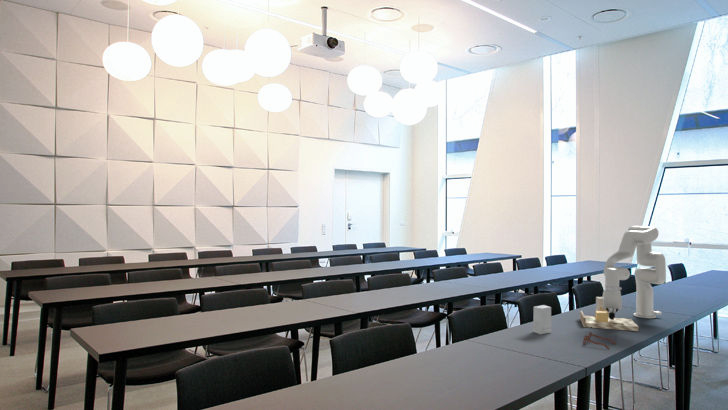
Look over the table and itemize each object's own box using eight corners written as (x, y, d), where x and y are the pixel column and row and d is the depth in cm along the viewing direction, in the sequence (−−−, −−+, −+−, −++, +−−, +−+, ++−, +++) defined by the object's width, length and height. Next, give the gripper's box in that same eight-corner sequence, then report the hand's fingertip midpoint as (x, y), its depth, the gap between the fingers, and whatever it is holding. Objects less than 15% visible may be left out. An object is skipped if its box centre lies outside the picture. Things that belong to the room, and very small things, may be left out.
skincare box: (543, 330, 279) (543, 304, 279) (551, 333, 274) (551, 306, 274) (532, 332, 276) (532, 305, 276) (540, 334, 270) (540, 308, 270)
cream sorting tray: (631, 323, 298) (631, 314, 298) (638, 331, 279) (638, 321, 279) (579, 319, 307) (580, 310, 307) (583, 326, 288) (583, 317, 288)
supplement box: (608, 317, 314) (609, 296, 314) (611, 318, 309) (612, 298, 309) (595, 316, 315) (595, 296, 315) (598, 318, 310) (598, 297, 310)
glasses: (589, 340, 262) (589, 330, 262) (616, 344, 253) (616, 335, 253) (582, 345, 251) (582, 335, 251) (609, 350, 243) (610, 340, 243)
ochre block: (606, 319, 296) (606, 311, 296) (607, 321, 290) (608, 313, 290) (595, 318, 298) (595, 310, 298) (596, 321, 292) (597, 312, 292)
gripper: (624, 288, 294) (624, 318, 294) (597, 287, 298) (597, 316, 298) (627, 290, 287) (627, 321, 287) (599, 289, 291) (599, 319, 291)
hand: (611, 319), depth 292 cm, fingers closed
